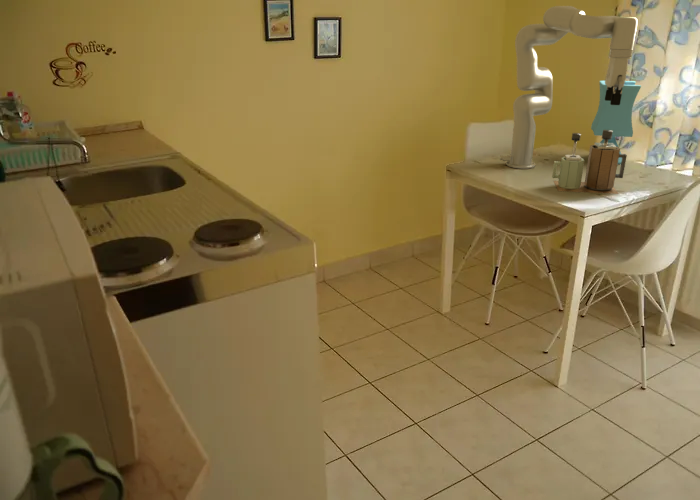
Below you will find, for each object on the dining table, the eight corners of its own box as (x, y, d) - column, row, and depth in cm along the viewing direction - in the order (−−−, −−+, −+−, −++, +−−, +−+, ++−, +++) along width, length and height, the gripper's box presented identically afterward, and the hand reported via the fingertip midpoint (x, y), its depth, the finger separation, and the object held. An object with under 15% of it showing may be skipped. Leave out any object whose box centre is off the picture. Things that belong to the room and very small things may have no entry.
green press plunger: (566, 167, 223) (571, 134, 218) (564, 164, 227) (569, 132, 222) (578, 168, 222) (584, 135, 217) (577, 165, 226) (581, 132, 221)
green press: (552, 188, 225) (556, 158, 220) (550, 182, 232) (553, 153, 228) (581, 189, 223) (585, 159, 218) (577, 183, 230) (582, 154, 226)
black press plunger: (592, 184, 223) (601, 132, 214) (589, 180, 228) (597, 128, 220) (608, 185, 222) (618, 132, 213) (605, 181, 227) (614, 129, 219)
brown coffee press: (587, 190, 222) (594, 147, 215) (582, 183, 231) (589, 141, 224) (623, 192, 220) (631, 148, 213) (617, 184, 229) (624, 142, 222)
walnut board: (557, 193, 223) (558, 190, 222) (553, 183, 235) (553, 180, 235) (618, 196, 219) (618, 193, 218) (610, 186, 231) (610, 183, 231)
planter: (627, 165, 260) (641, 85, 246) (590, 163, 264) (602, 84, 250) (621, 157, 274) (635, 81, 260) (586, 155, 277) (598, 80, 264)
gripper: (604, 52, 214) (596, 98, 221) (614, 56, 199) (606, 106, 206) (625, 52, 213) (617, 99, 220) (637, 56, 197) (628, 107, 204)
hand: (612, 102), depth 213 cm, fingers open, 9 cm apart
